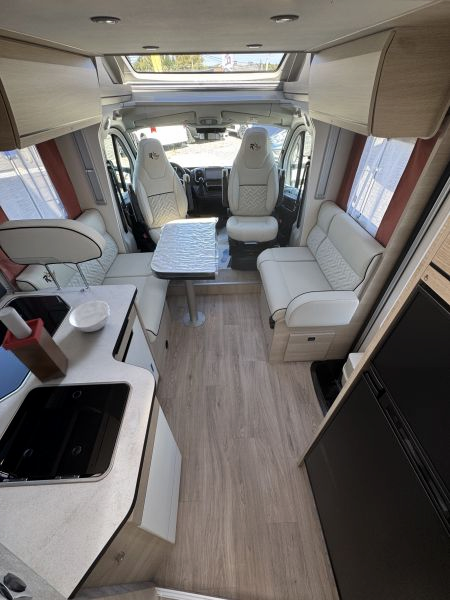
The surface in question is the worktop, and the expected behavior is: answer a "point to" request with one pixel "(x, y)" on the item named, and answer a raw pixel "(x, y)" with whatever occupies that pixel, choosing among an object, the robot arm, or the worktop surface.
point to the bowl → (90, 316)
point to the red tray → (13, 342)
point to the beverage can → (15, 323)
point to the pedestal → (43, 358)
